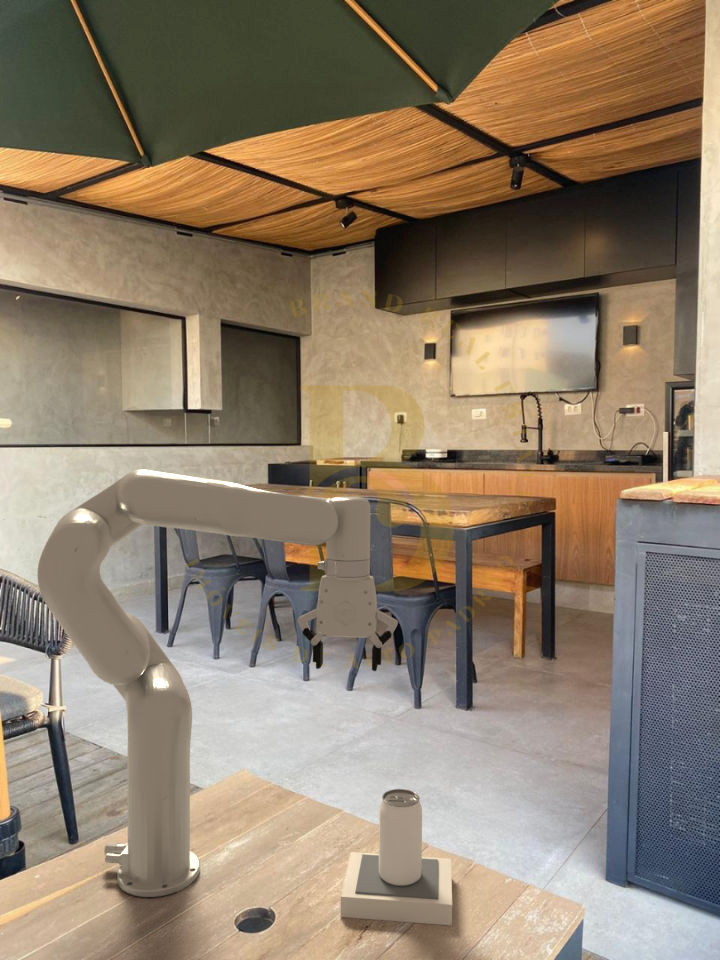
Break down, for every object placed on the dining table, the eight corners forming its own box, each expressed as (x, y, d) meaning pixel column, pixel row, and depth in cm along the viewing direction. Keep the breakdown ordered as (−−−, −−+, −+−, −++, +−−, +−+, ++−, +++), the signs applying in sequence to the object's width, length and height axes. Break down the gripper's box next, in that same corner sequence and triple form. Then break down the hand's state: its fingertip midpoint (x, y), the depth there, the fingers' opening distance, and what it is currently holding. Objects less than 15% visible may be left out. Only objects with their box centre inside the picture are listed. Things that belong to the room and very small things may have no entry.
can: (418, 890, 107) (419, 809, 106) (374, 884, 108) (375, 804, 108) (424, 866, 113) (425, 790, 113) (383, 861, 115) (383, 785, 114)
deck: (340, 916, 106) (340, 894, 106) (350, 870, 118) (350, 850, 118) (451, 925, 104) (452, 902, 104) (450, 877, 116) (450, 856, 116)
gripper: (293, 570, 123) (293, 672, 123) (397, 573, 121) (395, 676, 121) (302, 564, 130) (301, 659, 131) (399, 566, 128) (398, 663, 129)
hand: (347, 667), depth 126 cm, fingers open, 9 cm apart
